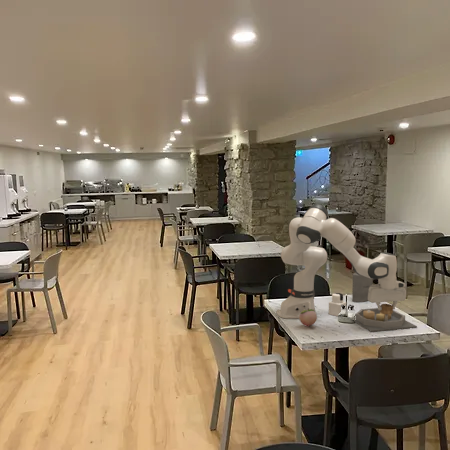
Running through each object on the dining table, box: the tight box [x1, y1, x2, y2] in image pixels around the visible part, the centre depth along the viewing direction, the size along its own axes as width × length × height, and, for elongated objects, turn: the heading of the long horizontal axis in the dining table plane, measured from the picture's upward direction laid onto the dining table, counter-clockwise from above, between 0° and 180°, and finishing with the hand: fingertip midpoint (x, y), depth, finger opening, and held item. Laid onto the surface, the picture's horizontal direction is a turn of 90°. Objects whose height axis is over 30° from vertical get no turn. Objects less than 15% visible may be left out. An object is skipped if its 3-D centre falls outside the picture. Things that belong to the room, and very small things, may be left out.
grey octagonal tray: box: [354, 307, 418, 333], centre depth 241 cm, size 26×26×6 cm
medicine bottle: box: [328, 292, 347, 317], centre depth 255 cm, size 7×7×12 cm
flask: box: [351, 272, 374, 303], centre depth 282 cm, size 15×6×20 cm, turn 118°
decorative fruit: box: [298, 308, 318, 328], centre depth 235 cm, size 9×8×10 cm
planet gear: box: [380, 303, 394, 314], centre depth 235 cm, size 6×6×4 cm
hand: (386, 309), depth 235 cm, fingers closed on planet gear, 6 cm apart
